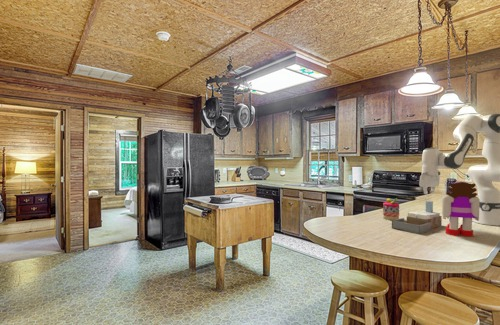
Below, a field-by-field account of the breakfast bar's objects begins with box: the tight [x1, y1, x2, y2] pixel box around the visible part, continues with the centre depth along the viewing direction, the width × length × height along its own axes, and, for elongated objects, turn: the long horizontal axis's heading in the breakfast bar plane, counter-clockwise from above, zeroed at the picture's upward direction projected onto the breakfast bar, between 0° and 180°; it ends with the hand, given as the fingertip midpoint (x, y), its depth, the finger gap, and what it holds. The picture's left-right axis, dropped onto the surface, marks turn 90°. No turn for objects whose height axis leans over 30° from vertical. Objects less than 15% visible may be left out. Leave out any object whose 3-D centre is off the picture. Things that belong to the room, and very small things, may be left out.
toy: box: [441, 181, 480, 238], centre depth 155 cm, size 18×9×30 cm, turn 74°
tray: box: [391, 217, 432, 235], centre depth 166 cm, size 14×16×5 cm
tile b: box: [407, 211, 420, 218], centre depth 174 cm, size 5×5×2 cm
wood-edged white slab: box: [406, 215, 443, 229], centre depth 176 cm, size 20×12×6 cm, turn 125°
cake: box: [382, 197, 400, 221], centre depth 197 cm, size 10×11×15 cm
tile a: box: [417, 213, 430, 219], centre depth 169 cm, size 5×5×2 cm
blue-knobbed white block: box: [415, 200, 441, 218], centre depth 178 cm, size 10×11×9 cm
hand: (429, 193), depth 180 cm, fingers open, 8 cm apart
